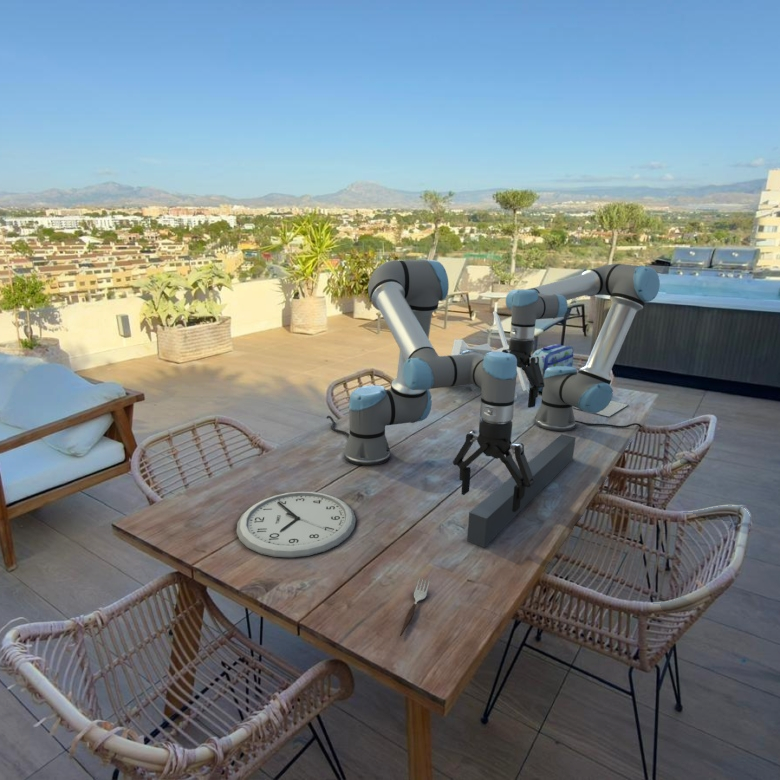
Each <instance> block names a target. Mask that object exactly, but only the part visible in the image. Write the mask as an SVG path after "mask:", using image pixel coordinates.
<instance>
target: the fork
mask: <svg viewBox="0 0 780 780" xmlns="http://www.w3.org/2000/svg"><path fill="white" fill-rule="evenodd" d="M420 580H421V577H419V578H418V581H417V585H416V587H415V590H414V592H413V598H414V600H415V601H414V603H413V604H412V606H411V607H410V609H409V611H408V612H407V613H406V616H405V619H404V622H403V624H402V625H403V626H402V628H401V631H400V634H399V636H400V637H402V635H403V634H404V632H405V631H406V629H407V627H408V626H409V624H410V622H411V621H412V619H413V617H414V614H415V610H416V607H417V604H418V602H420V601H423V600H425V599H426V598H427V596H428V591H429V586H430V582H431V581H430V580H431V579H428V583H427V578H426V579H425V580H424V578H422V580H421V583H420ZM423 582H424V584H423ZM426 583H427V586H426ZM419 584H420V585H419ZM422 587H423V588H422Z"/></svg>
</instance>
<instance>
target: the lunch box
mask: <svg viewBox="0 0 780 780" xmlns="http://www.w3.org/2000/svg"><path fill="white" fill-rule="evenodd" d="M531 357H539V366H540V370H541V374H542V377H543V378H544V375H545V370H546V369H547V368H549V367H555V366H568V367H573V363H574V347H572V346H568V345H562V344H551V345H547V346H545V347H541V348H539V349H536V350H534V352H533V353H532V354H531ZM528 387H529V389H530V388H531V384H530V382H529V381H528ZM542 390H543V387H542V388H539V390H538V392H541V393H542Z"/></svg>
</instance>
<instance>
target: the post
mask: <svg viewBox="0 0 780 780" xmlns="http://www.w3.org/2000/svg"><path fill="white" fill-rule="evenodd" d="M575 445H576V437H575V436H571V435H567V434H563V433H561V434H560V435H558V436H557V437H556V438H555V439H553V441H552V442H550V443H549V444H548V445H547V446H545V448H543V449H542V450H541V451H540V452H539V453H537V454H536V455H535V456H533V457H532V458H531V459H530V460H529V461H527V462H528V465H529V468H530V470H531V473H532V476H533V479H534V483H533V484H532V485H531V486H530V487H526V488H525V496H524V498H522V499H521V500H520V508H519V509H518V510H517V511H516V512H513V511H512V507H513V496H514V486H515V485H517V483H516V482H515V480H514V479H513V477H512V476H510V477H509V478H508V479H507V480H505V481H504V482H503V483H502V484H500V485H499V486H498V487H497V488H496V489H494V491H492V492H491V493H490V494H489V495H488V496H486V497H485V498H484V499H483V500H482V501H480V503H478V504H477V505H476V506H475V507H473V509H471V510H469V512H468V523H467V524H468V525H467V536H466V537H467V538H466V540H467V542H469V543H471V544H474V545H477V546H479V547H481V548H486V547H487V546H488V545H489V544H490V543H491V542H492V541H493V540H494V539H495V538H496V537H497V536H498V535H499V534H500V533H501V532H502V531H503V530H504V529H505V528H506V527H507V526H508V525H509V524H510V523H511V522H512V521H513V520H514V519H515V518H516V517H517V516H518V514H520V513H521V512H522V511H523V510H524V509H525V508H526V507H527V506H528V505H529V504H530V503H531V502H532V500H534V499H535V498H536V497H537V496H538V495H539V494H540V493H541V492H542V491H543V490H544V489H545V488H546V487H547V486H548V485H549V484H550V483H551V482H552V481H553V480H554V479H555V478H556V477H557V476H558V475H559V474H560V473H561V472H562V471H563V470H564V469H565V468H566V467H567V466H568V465H569V464H570V463H571V462H572V461H573V460H574V454H575Z"/></svg>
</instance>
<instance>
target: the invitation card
mask: <svg viewBox="0 0 780 780" xmlns="http://www.w3.org/2000/svg"><path fill="white" fill-rule="evenodd" d="M628 406H629V404H627V403H623V402H618V401H614V400H611V401H610V403H609V404H608V406H607V407H606V408H605V409H603V410H601V411H600V412H598V413H595V414H596V415H600V416H604V417H608V418H609V417H611V416H613V415H614V414H616V413H617V412H619V411H621V410H623V409H624V408H626V407H628ZM573 409H575V410H579V409H578V408H576V407H573Z"/></svg>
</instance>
